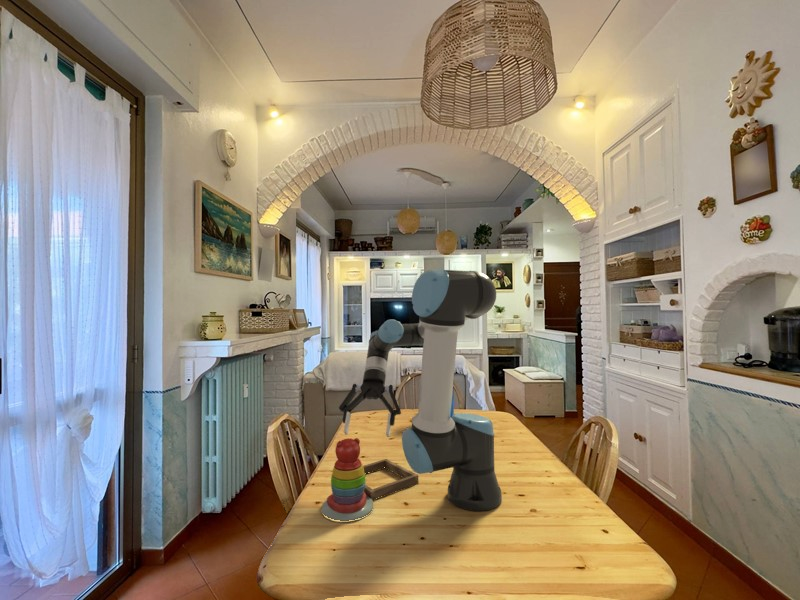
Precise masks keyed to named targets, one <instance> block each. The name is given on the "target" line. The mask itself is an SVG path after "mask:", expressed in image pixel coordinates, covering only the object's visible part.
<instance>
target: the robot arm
mask: <svg viewBox="0 0 800 600" xmlns="http://www.w3.org/2000/svg"><path fill="white" fill-rule="evenodd" d="M411 294H412V295H411V304H412V309H413V311H414V313H415V314H416V315H417V316H419V317H418V318H419V320H418V321H419V322H418V323H401V321H398V320H396V319H387V320H386V321H384V322H383V323H382V324H381V326H380V327H379V329H378V330H375V331H372V332H371V333H370V337H369V340H368V348H367V353H366V354H367V355H366V359H365V366H364V372H363V378H362V384H361V385H359V384H356V383H353V384H352V387H351V390H350V391H349V393H347V395H346V397H345V398H344V399H343V401H342V402H341V404H339V406H338V409H339V410H340V412H341V413H343V415H342V423H343V424H344V425H343V426H344V427H343V431H342V432H343V433H344V435H346V436H348V434H349V428H350V422H351V417H352V414H351V413H352V411H353V410H354V409H355V408H357V407H358V405H360V403H361V402H363V401H365V400H366V399H367V400H378V399H379V400H380V401H381V403H382V404H383V405H384V407H385V408H386V409H387V411H388V414H387V422H386V423H387V424H386V433H385V435H386V437H387V438H391V437H390V436H391V430H392V429H391V428H392V427H393V426H394V425H395V420H396V416H398V415H401V414H402V411H401V407H400V406H399V402H398V401H397V398H396V396H395V394H394V391H395V390H394V387H393V385H392V384H389V386H388V385H385V384H386V379H387V378H386V376H387V375H386V374H387V370H388V369H387V367H388V360H389V359H388V358H389V353H390V351H391V350H392V349H393V348H394V347H402V346H403V347H405V346H418V345H419V346H420V345H423V346H422V355H421V356H422V358H421V369H420V371H421V372H420V383H419V396H418V397H419V398H418V408H417V409H418V410H417V413H416V414H415V415H414V416H412V418H411V426H410V428H407V427H406V429H404V431H403V432H402V435H401V444H402V450H403V453H404V457H405V460H406V462H407V464H408V466H409V467H410V469H411V470H413V471H412V472H413V473H414V472H415V474H417V475H424V474H428V473H429V474H432V473H434V472H438V471H443V470H446V469H450V468H453V469H452V472H451V476H450V480H449V484H448V486H447V499H448V500H449V502H450V503H451V504H453V505H454V506H455V507H457V508H460V509H463V510H467V511H473V512H474V511H475V512H482V511H490V510H493V509H496V508H497V507H499V506H500V505H501V503H502V502H503V501H502V500H503V498H502V497H503V494H502V489H501V487H500V485H499V483H498V479H497V474H496V471H495V441H494V440H495V431H494V426H493V422H492V420H491V419H489V417H486V416H483V415H480V414H476V413H475V414H474V413H468V412H467V413H466V412H465V413H463V412H460V413H459V412H458V413H457V412H455V413H454V415H452V418H451V417H450V412H451V401H452V390H453V391H454V379H455V378H454V377H455V367H456V357H457V356H456V355H457V342H458V332H459V331H460V329H461V328H462V327H464V326H465V321H467V320H469V319H470V320H474V319H475V320H476V319H479V318H480V317H482V316H484V315H485V314H487V313H488V312H490V311H491V310H492V308H493V307H494V305H495V303H496V300H497V290H496V286H495V284H494V282H493V281H492V279H491V278H490V277H489V276H488V275H486V274H484V273H483V272H480V271H477V270H456V269H454V270H451V269H442V268H441V269H431V270H430V269H429V270H426V271H424V272H422V273H421V274H420V275H419V276H418V277H417V279H416V281H415V283H414V286H413V289H412V293H411ZM359 391H361V392H360V393H359ZM385 392H387V394H389V395H390V397H391V400H392V403H393V406H394V408H395V409H394V408H393V407H392V406H391V404H390V403H389V401H388V399H386V397H385V396H384V393H385ZM357 393H359V394H358V395H357V396H356V394H357ZM355 396H356V397H355ZM353 398H354V399H353Z"/></svg>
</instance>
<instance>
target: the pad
mask: <svg viewBox="0 0 800 600" xmlns="http://www.w3.org/2000/svg"><path fill="white" fill-rule="evenodd" d="M366 499H367V501H366V504H365V506H364V507H363V508H362V509H361V510H359V511H356V512H353V513H339V512H336V511H334V510H332V509H331V508H330V507H329V506H328V504H327V499H326V500H325V501H324V502H323V503H322V504H321V514H322V513H323V514H324V515H325V516H327V517H328V518H331V519H334V520H340V521H349V520H355V519H358V518H362V517H364V516H366V515H368V514H369V513H370V512H371V511H372V512H373V510H374V500H372V499H371V498H370V497H369V496H367V495H366ZM372 509H373V510H372ZM372 512H371V513H372ZM371 513H370V514H371ZM370 514H369V515H370ZM369 515H368V516H369Z"/></svg>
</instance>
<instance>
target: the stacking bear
mask: <svg viewBox="0 0 800 600" xmlns="http://www.w3.org/2000/svg"><path fill="white" fill-rule="evenodd" d="M360 441H361V440H360V439H359V438H357V437H356V438H354V439H353V438H344V439H341V440H338V441H337V443H336V446H335V451H334V452H335V455H336V459H337V460H336V461H335V462H334V464H333V465H334V466H333V468H332V473H331V477H330V479H331V480H330V487H331V492H332V493H331V494H330V495H329V496H328V497H327V499H326V500H327V504H328V506H329V507H330V508H331V509H332V510H334V511H336V512H339V513H353V512H356V511H359V510H361V509H362V508H363V507H364V506H365V504H366V501H367V499H366V494H365V492H364V489H365V485H367V484H366V480H367V479H366V475H365V472H364V468H363V466H364V465H363V463H362V461H361V459H359V457H360V454H361V446H360Z"/></svg>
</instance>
